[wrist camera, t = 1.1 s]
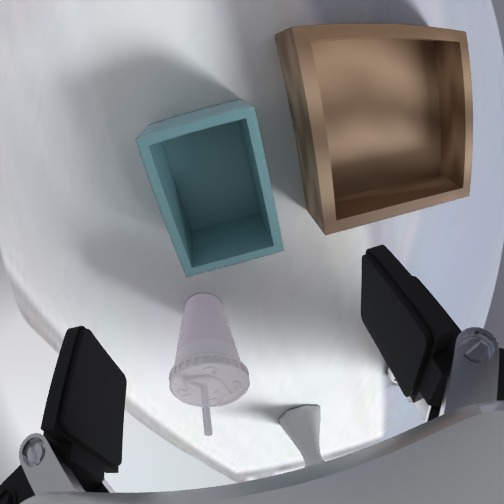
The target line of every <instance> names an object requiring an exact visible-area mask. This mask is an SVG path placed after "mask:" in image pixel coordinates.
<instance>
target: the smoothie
mask: <svg viewBox="0 0 504 504" xmlns="http://www.w3.org/2000/svg"><path fill="white" fill-rule="evenodd" d="M169 380H170V390H171V392H172V394H173V395H174V396H175V397H176V398H177V399H179V400H181V401H182V402H184V403H187V404H190V405H194V406H199V407H202V412H203V423H204V434H205V435H207V436H210V435H212V425H211V416H210V407H216V406H222V405H225V404H229V403H231V402H234V401H236V400H237V399H239V398H240V397H242V396H243V395H244V394H245V393H246V391H247V390H248V388H249V384H250V382H249V372H248V369H247V367H246V366H245V365H244V364H243V363H242V362H241V360H240V357H239V354H238V352H237V349H236V346H235V343H234V340H233V337H232V334H231V331H230V328H229V325H228V322H227V319H226V316H225V313H224V310H223V307H222V304H221V302H220V300H219V299H218V298H217V297H216V296H214V295H212V294H208V293H199V294H196V295H193V296H192V297H190V298H189V299H188V300H187V302H186V304H185V308H184V314H183V319H182V324H181V330H180V336H179V341H178V347H177V353H176V358H175V365H174V367H173V368H172V369H171V370H170V374H169Z"/></svg>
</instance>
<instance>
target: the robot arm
mask: <svg viewBox="0 0 504 504" xmlns="http://www.w3.org/2000/svg"><path fill="white" fill-rule="evenodd" d="M361 317H362V320H363V323H364V324H365V326H366V328H367V330H368V331H369V333H370V335H371V336H372V338H373V340H374V342H375V343H376V345H377V347H378V349H379V350H380V352H381V354H382V356H383V357H384V359H385V361H386V363H387V365H388V366H389V367H388V376H389V378H390V380H391V381H392V382H394V383H397V384H399V386H400V388H401V390H402V392H403V394H404V395H405V396H406V397H407V400H408V401H409V402H413V403H415V405H416V407H417V409H418V411H419V413H420V415H421V417H422V419H423V420H424V422H425V423H423V424H421V425H419V426H417V427H415V428H412V429H410V430H408V431H406V432H404V433H401V434H399V435H397V436H394V437H392V438H389V439H387V440H384V441H382V442H379V443H377V444H374V445H372V446H369V447H367V448H364V449H361V450H359V451H356V452H353V453H350V454H348V455H345V456H342V457H339V458H336V459H333V460H330V461H326V462H323V463H320V464H317V465H313V466H310V467H306V468H303V469H299V470H295V471H291V472H287V473H283V474H279V475H275V476H271V477H266V478H261V479H257V480H252V481H246V482H241V483H236V484H230V485H223V486H216V487H208V488H200V489H191V490H180V491H168V492H147V493H115V491H114V490H113V489H112V488H111V486H110V485H109V484H108V482H107V481H106V480H105V478H104V472H105V473H118V465H120V464H121V461H122V439H123V422H124V408H125V396H126V385H127V382H126V377H125V375H124V374H123V372H122V371H121V370H120V369H119V367H118V366H117V365H116V364H115V362H114V361H113V360H112V359H111V357H110V356H109V355H108V353H107V352H106V351H105V350H104V348H103V347H102V346H101V344H100V343H99V342H98V340H97V339H96V338H95V336H94V335H93V333H92V332H91V331H90V330H89V329H86V328H85V327H84V326H79V327H74V328H70V329H68V330H67V332H66V334H65V337H64V341H63V344H62V347H61V350H60V354H59V357H58V361H57V364H56V368H55V371H54V375H53V378H52V382H51V386H50V390H49V394H48V398H47V402H46V406H45V411H44V415H43V420H42V425H41V429H42V430H43V431H44V434H43V435H41V434H38V433H35V434H31V435H29V436H28V437H27V438H26V439H25V440H24V441H23V443H22V445H21V447H20V451H19V459H20V463H21V465H20V466H19V467H18V468H17V469H16V470H15V471H14V472H13V473H12V474H11V475H10V476H9V477H8V478H7V479H6V480H5V481H4V482H3V483H2V484H1V485H0V504H504V349H502V348H499V345H498V342H497V340H496V338H495V337H494V336H493V335H492V334H491V333H490V332H489V331H487V330H485V329H482V328H479V327H471V328H468V329H465V330H464V331H461V330H460V329H459V327H458V326H457V325H456V324H455V322H454V321H453V320H452V319H451V317H450V316H449V315H448V314H447V312H446V311H445V310H444V309H443V307H442V306H441V305H440V304H439V303H438V301H437V300H436V299H435V298H434V297H433V295H432V294H431V293H430V292H429V291H428V290H427V288H426V287H425V286H424V285H423V284H422V283H421V281H420V280H419V279H418V278H417V277H415V276H411V274H410V273H409V272H408V271H407V270H406V269H405V268H404V266H403V265H402V264H401V263H400V262H399V261H398V260H397V259H396V257H395V256H394V255H393V254H392V253H391V252H390V251H389V250H388V249H387V248H386V247H385V246H384V245H380V246H377V247H373V248H370V249H367V251H366V255H363V256H362V289H361Z"/></svg>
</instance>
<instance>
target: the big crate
mask: <svg viewBox="0 0 504 504" xmlns="http://www.w3.org/2000/svg"><path fill="white" fill-rule="evenodd" d="M275 38H276V43H277V47H278V52H279V56H280V61H281V65H282V70H283V75H284V80H285V85H286V90H287V95H288V100H289V105H290V110H291V116H292V121H293V127H294V132H295V138H296V143H297V149H298V155H299V161H300V167H301V174H302V180H303V186H304V193H305V200H306V207H307V211H308V212H309V214H310V215H311V217H312V218H313V219H314V221H315V222H316V223H317V225H318V226H319V227H320V229H321V230H322V232H323V233H324V234H325V235H328V234H332V233H335V232H339V231H343V230H347V229H350V228H354V227H358V226H361V225H365V224H369V223H372V222H376V221H380V220H383V219H387V218H391V217H394V216H398V215H402V214H405V213H409V212H413V211H416V210H420V209H424V208H427V207H431V206H435V205H438V204H442V203H445V202H449V201H453V200H456V199H460V198H464V197H467V196H469V193H470V182H471V169H472V150H473V101H472V82H471V70H470V60H469V51H468V43H467V36H466V32H464V31H458V30H451V29H444V28H436V27H427V26H417V25H404V24H382V23H346V24H324V25H310V26H299V27H291V28H289V29H287V30H285V31H282V32H280V33H278V34H276V35H275Z"/></svg>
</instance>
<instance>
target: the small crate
mask: <svg viewBox="0 0 504 504" xmlns="http://www.w3.org/2000/svg"><path fill="white" fill-rule="evenodd" d="M136 142H137V145H138V148H139V151H140V154H141V157H142V160H143V163H144V166H145V169H146V172H147V174H148V177H149V180H150V183H151V186H152V189H153V191H154V194H155V197H156V200H157V202H158V205H159V208H160V211H161V213H162V216H163V219H164V221H165V224H166V227H167V229H168V232H169V234H170V237H171V240H172V242H173V245H174V247H175V250H176V252H177V255H178V257H179V260H180V262H181V265H182V267H183V270H184V272H185V275H186V277H188V276H192V275H196V274H200V273H203V272H207V271H211V270H215V269H218V268H222V267H226V266H229V265H233V264H237V263H241V262H244V261H248V260H252V259H255V258H259V257H263V256H266V255H270V254H274V253H278V252H281V251H284V249H283V243H282V238H281V233H280V228H279V222H278V217H277V212H276V207H275V202H274V197H273V192H272V187H271V182H270V177H269V172H268V168H267V163H266V158H265V153H264V148H263V144H262V139H261V134H260V130H259V125H258V121H257V116H256V112H255V107H254V106H253V105H251V104H249V103H248V102H246V101H244V100H242V99H239V100H235V101H231V102H226V103H222V104H218V105H215V106H211V107H207V108H203V109H199V110H196V111H192V112H189V113H185V114H182V115H179V116H175V117H172V118H169V119H166V120H162V121H159V122H156V123H153V124H150V125H149V126H148V127H147V128H146V129H145V130H144V131H143V132H142V133H141V135H140V136H139V137H138V138H137V139H136Z"/></svg>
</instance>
